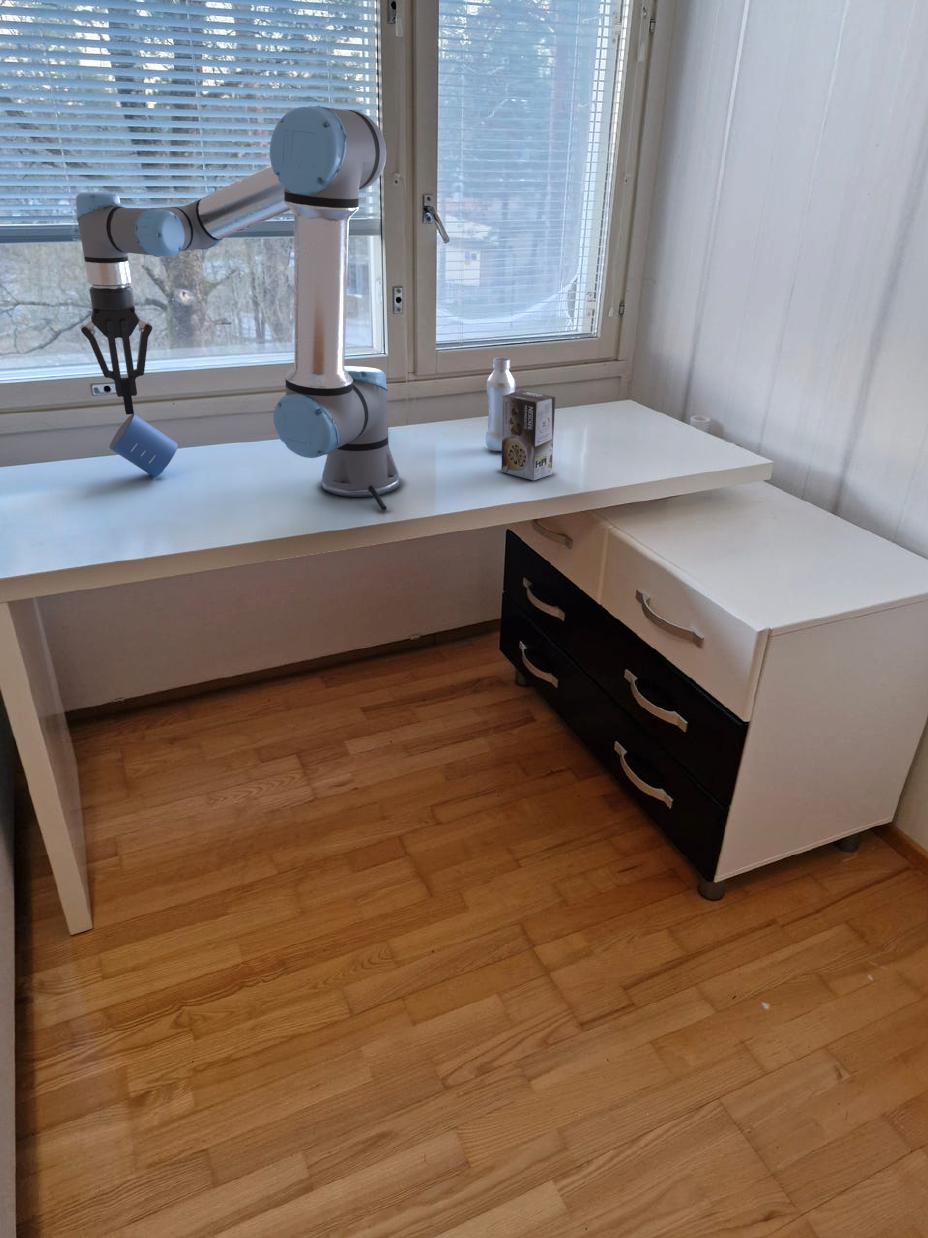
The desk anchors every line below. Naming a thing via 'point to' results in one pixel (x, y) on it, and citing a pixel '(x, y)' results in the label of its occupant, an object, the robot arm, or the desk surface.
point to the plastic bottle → (497, 400)
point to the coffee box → (527, 434)
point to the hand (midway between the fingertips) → (129, 412)
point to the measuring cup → (143, 445)
